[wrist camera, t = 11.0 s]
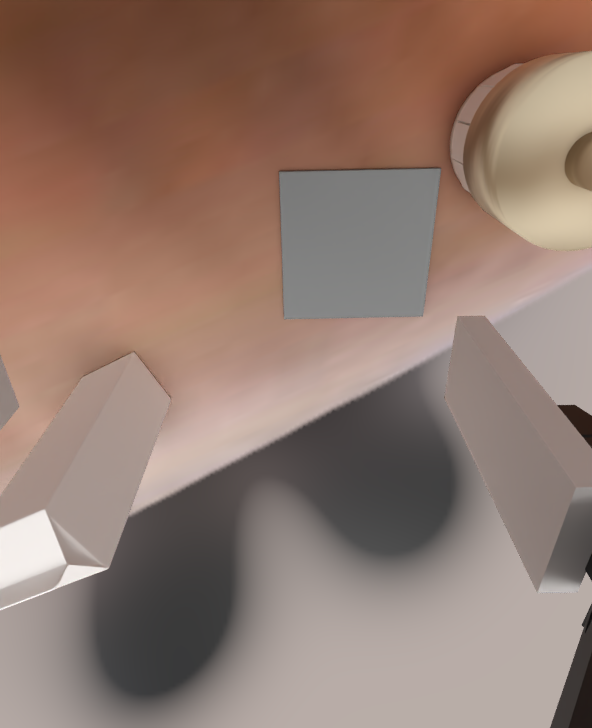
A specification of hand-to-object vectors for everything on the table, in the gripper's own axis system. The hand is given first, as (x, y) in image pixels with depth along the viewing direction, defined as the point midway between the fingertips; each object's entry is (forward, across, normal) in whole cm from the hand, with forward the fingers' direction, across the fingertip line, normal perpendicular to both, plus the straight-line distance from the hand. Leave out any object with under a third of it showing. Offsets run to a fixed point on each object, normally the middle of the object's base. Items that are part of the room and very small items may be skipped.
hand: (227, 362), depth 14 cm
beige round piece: (+22, +18, +3) cm, 28 cm away
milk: (+27, -14, -18) cm, 35 cm away
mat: (+27, +7, -5) cm, 28 cm away
